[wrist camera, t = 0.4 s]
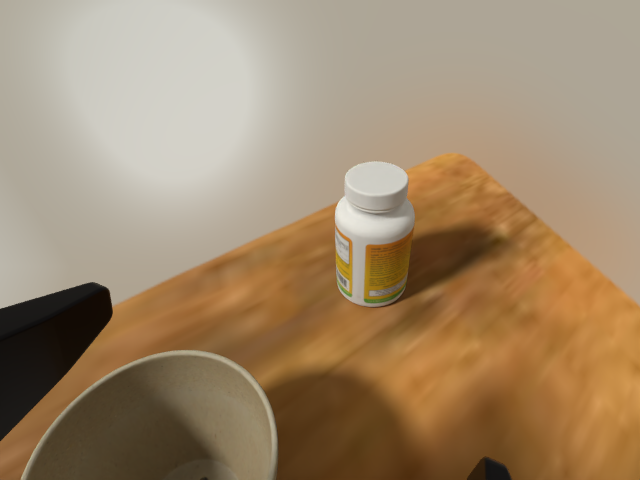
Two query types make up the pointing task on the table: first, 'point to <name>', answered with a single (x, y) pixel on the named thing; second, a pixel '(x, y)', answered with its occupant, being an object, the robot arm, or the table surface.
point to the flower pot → (163, 425)
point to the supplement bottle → (374, 234)
